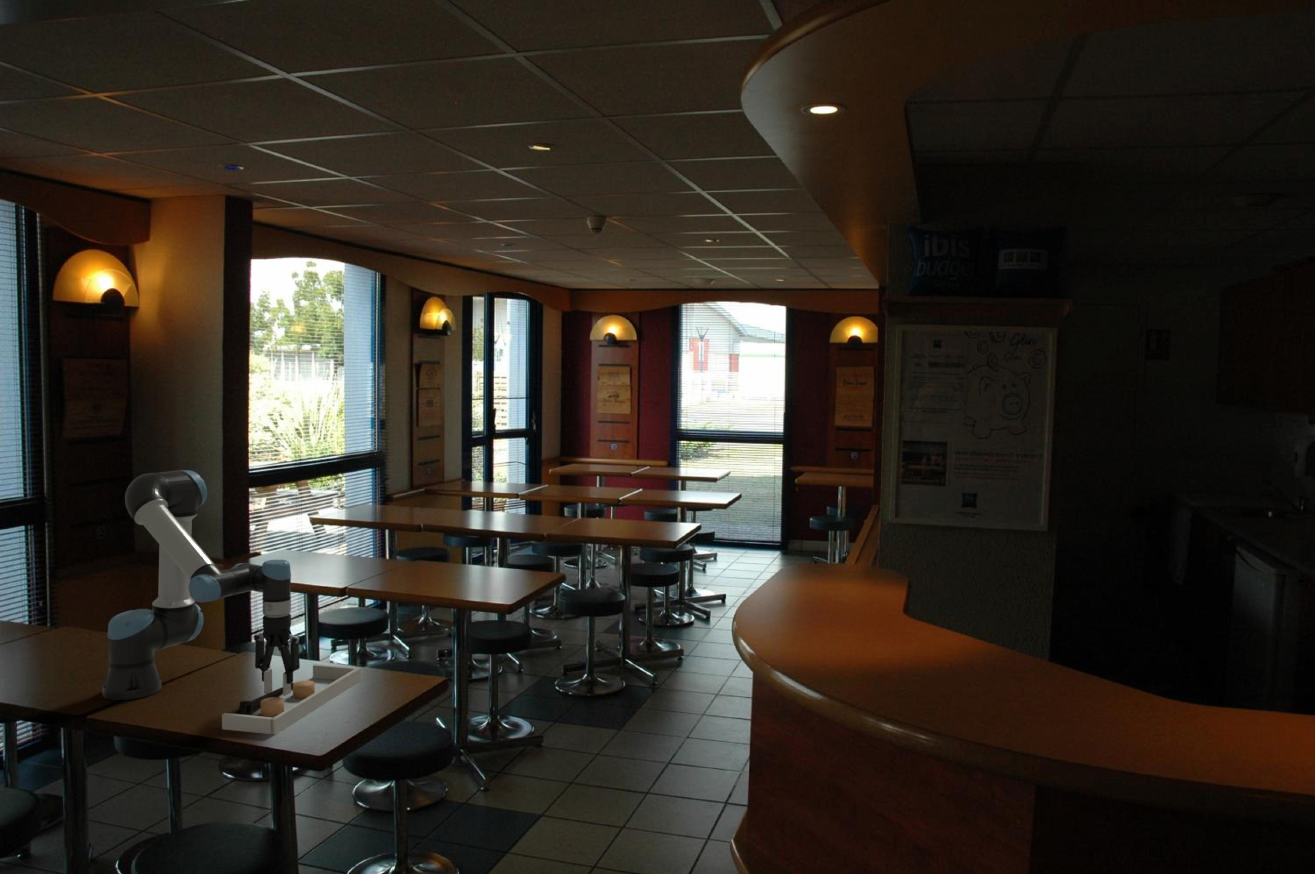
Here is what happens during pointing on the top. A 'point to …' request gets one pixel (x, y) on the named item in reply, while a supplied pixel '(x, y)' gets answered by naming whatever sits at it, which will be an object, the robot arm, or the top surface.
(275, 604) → the robot arm
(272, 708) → the puck
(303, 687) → the puck
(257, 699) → the black hooked stick
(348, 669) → the chip tray
